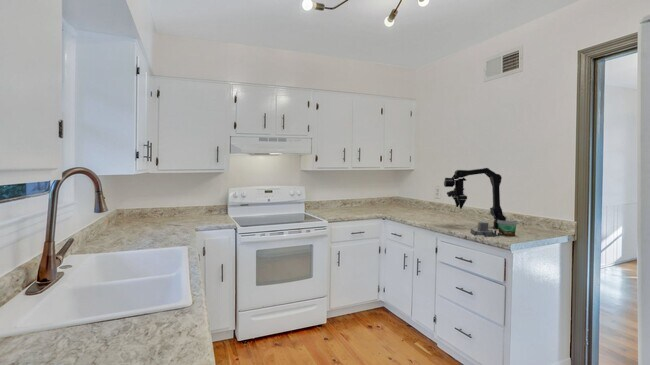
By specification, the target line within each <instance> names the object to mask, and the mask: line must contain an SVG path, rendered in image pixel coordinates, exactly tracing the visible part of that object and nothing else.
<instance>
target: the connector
mask: <svg viewBox="0 0 650 365" xmlns="http://www.w3.org/2000/svg"><path fill="white" fill-rule="evenodd" d="M477 225H478V226H477V230H478V231H486V229H489V222H487V221H478V222H477Z"/></svg>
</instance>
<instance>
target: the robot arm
mask: <svg viewBox="0 0 650 365" xmlns="http://www.w3.org/2000/svg"><path fill="white" fill-rule="evenodd" d="M482 174H484V175H486V176H487V177H488V178H489V181H490V184H491V187H492V188H491V189H492V207H489V210H490V211H489V214H490V215H491V216H492V217H493V219H494V220H493V226H492V228H494V229H497V230H498V223H497V221H498V220H502V221H507V217H506V216H505V215H504V213H503V209H502V207H501V198H500V197H501V194H500V192H501V191H500V186H501V183H502V175H501V174H499V173H496V172H494V171H493V170H491V169H490V168H488V167H483V168H475V169H468V170H467V169H457V170H455V171H454V174H453V176H452V177H444V180H443V186H444V188H453V187H454V188H453V190H450V191H447V192H446V195H447V197H449V198H452V199H453V200H454V202H455V207H456V208H458V207H459V209H463V207H464V206H465V205H464V204H465V203H466V201H467V200H468V196H467V195H465V193H464V190H465V188H464V182H465V181H467V179H466V178H465V177H468V176H473V175H482Z"/></svg>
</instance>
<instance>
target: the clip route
mask: <svg viewBox="0 0 650 365" xmlns="http://www.w3.org/2000/svg"><path fill="white" fill-rule="evenodd" d="M490 230H491V231H493V235H486V233H485V232H483V235H481V236H482V237H484V238H485V237H486V238H487V237H491V238H500V237H501V235H500V233H499V232H497V230H493V229H490Z"/></svg>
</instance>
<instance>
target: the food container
mask: <svg viewBox="0 0 650 365" xmlns="http://www.w3.org/2000/svg"><path fill="white" fill-rule="evenodd" d="M497 223H498V229H497V230H498V233H500V236H501V237H502V236H503V237H515V235H516V231H517V225H518V224H519V223H518V220H517V219H516V220H506V221H502V220H498V221H497Z"/></svg>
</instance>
